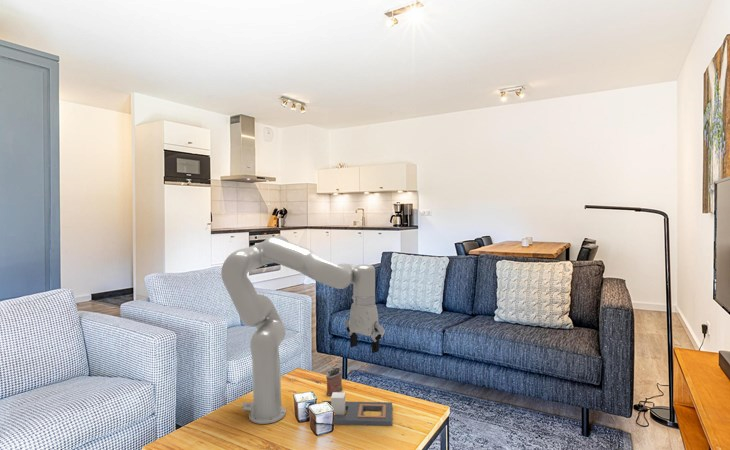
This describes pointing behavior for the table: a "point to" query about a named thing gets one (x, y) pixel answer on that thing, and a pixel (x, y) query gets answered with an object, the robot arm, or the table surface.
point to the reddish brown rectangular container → (334, 381)
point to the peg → (338, 402)
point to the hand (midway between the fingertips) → (364, 349)
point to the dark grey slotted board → (358, 418)
